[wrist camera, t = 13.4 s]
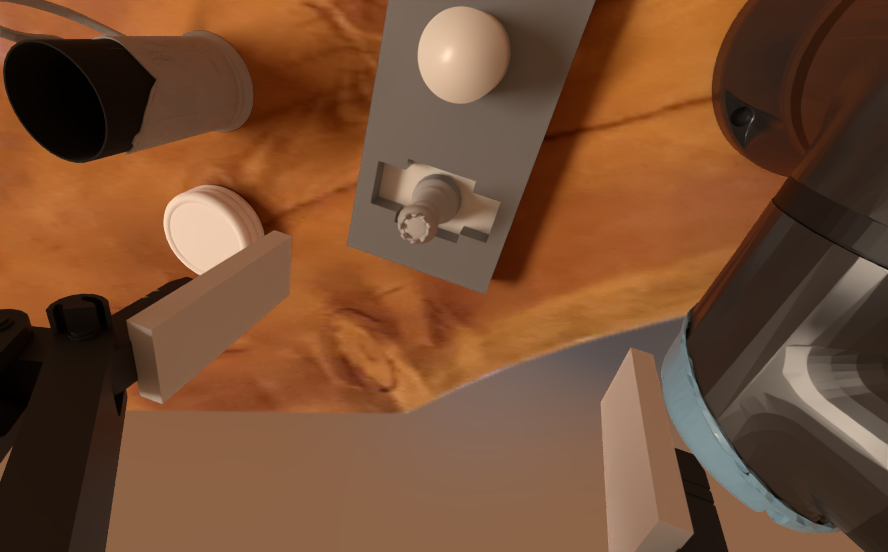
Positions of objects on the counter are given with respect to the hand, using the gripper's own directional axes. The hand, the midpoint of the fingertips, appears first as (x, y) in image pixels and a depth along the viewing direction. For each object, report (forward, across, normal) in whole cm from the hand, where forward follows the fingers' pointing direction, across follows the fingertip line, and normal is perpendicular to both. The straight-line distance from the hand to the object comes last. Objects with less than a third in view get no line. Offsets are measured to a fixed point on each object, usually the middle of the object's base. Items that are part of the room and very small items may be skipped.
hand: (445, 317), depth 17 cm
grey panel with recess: (+25, +6, -1) cm, 26 cm away
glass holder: (+25, +32, -1) cm, 40 cm away
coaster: (+25, +29, +15) cm, 41 cm away
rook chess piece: (+25, +6, +5) cm, 26 cm away
